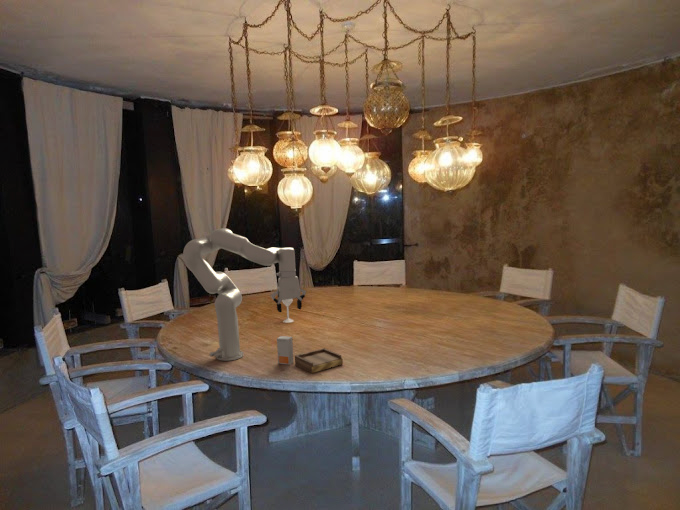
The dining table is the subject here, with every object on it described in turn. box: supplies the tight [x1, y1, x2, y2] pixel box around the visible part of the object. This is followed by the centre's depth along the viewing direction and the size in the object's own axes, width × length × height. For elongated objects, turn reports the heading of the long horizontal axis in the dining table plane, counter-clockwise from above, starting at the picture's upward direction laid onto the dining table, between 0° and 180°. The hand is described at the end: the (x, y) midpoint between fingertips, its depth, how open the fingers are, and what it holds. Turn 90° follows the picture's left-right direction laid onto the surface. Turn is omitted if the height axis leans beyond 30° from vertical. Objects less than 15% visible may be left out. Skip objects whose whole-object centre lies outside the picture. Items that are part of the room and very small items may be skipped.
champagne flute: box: [281, 299, 294, 324], centre depth 289 cm, size 7×7×24 cm
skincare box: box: [276, 335, 294, 366], centre depth 214 cm, size 6×4×12 cm
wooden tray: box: [294, 347, 344, 374], centre depth 210 cm, size 16×14×4 cm
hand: (289, 310), depth 220 cm, fingers open, 9 cm apart
